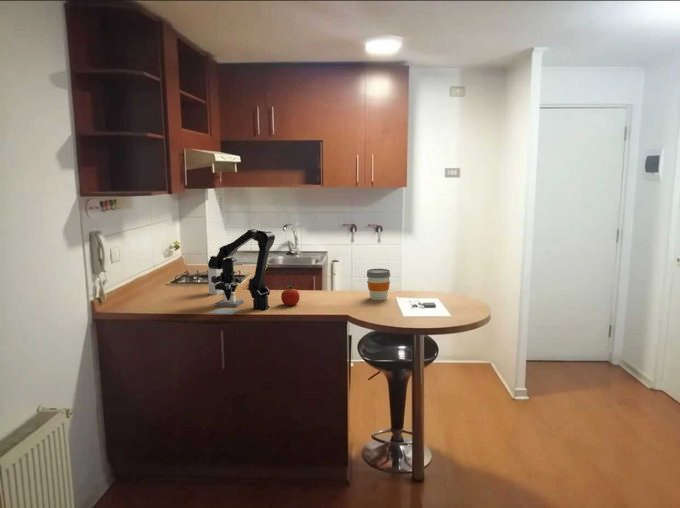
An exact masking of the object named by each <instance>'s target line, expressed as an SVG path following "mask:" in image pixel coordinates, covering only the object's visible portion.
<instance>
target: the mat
mask: <svg viewBox="0 0 680 508" xmlns="http://www.w3.org/2000/svg"><path fill="white" fill-rule="evenodd" d="M239 311H240V309H237V308H236V309H233V308H216V309H214V310H213V311H211V312H209V314H215V315H216V314H217V315H218V314H219V315H230V316H231V315H234V314H236V313H238V312H239Z"/></svg>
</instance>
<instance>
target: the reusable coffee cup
mask: <svg viewBox="0 0 680 508" xmlns="http://www.w3.org/2000/svg"><path fill="white" fill-rule="evenodd" d="M366 271H367V272H366V277H367V281H366V283H367V290H368V291H369V297H370V300H372V301H373V300H374V301H385V300H387V298H388V292H389V290H390V282H391V281H390V278H391V271H390V269H386V268H370V269H368V270H366Z"/></svg>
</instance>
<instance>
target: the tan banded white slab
mask: <svg viewBox="0 0 680 508" xmlns="http://www.w3.org/2000/svg"><path fill="white" fill-rule="evenodd" d="M222 299H223V302H236V300H237V298H236V291H235V292H231V297H230V300H227V298H226V295H225V293H224V292H223V294H222Z"/></svg>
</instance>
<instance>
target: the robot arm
mask: <svg viewBox="0 0 680 508" xmlns="http://www.w3.org/2000/svg"><path fill="white" fill-rule="evenodd" d="M251 240H254V241H255V242H257V246H258V254H257V259H256V264H255V265H256V267H255V272H254V276H253V277H252V278H249V280H248V285H247V287H248V291H249V292H250V295H251V297H252V299H253V300H252V303H253V304H252V305H253V308H252V309H253V310H257V311H258V310H260V311H266V310H268V309H269V308H271V307H270V306H269V295H270V293H271V291H270V290H269V288H268V287H267V286H266V279H265V275H266V274H265V273H266V269H267V264H268V258H269V254H270V253H269V252H270V250H271V248H272V247H273V244H274V243H275V240H276V235H274V233H273V232H272V231H264V230H257V229H255V228H252V229H248V230H247V231H246V232H245V233H243V234H242V235H240V236H239V237H238V238H236V239H235V240H234V241H232V242H231V243H228V244H226V245H223V246H221V247H220V248H219V249H218V251H219V252H217V255H216V256H215V255H211V256H210V259H209V260H208V262H207V265H208V267H207V268H210V269H222V272H221V273H220V276H212V277H211V282H213V283H214V284H216V283H218V282H220V283H218V284H216V285H215V290H223V291H224V293H225V295H226V298H227V300H230V297H231V292H235V293H236V289H237V287H238V286H239V285H238V284H241V283H242V278H241V277H240V276H235V274H236V271H235V269H234V263H235V262H237V261H238V260H237V258H235V257H234V255H236V253H237V252H238V250H239V249H240V248H241V247H242V246H244V245H245V244H247V243H248V242H249V241H251ZM236 283H238V284H236Z"/></svg>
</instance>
